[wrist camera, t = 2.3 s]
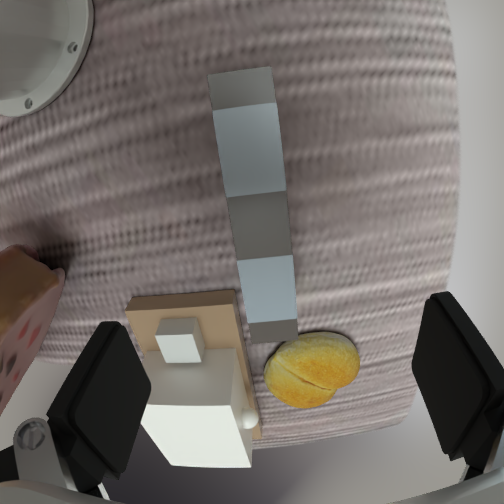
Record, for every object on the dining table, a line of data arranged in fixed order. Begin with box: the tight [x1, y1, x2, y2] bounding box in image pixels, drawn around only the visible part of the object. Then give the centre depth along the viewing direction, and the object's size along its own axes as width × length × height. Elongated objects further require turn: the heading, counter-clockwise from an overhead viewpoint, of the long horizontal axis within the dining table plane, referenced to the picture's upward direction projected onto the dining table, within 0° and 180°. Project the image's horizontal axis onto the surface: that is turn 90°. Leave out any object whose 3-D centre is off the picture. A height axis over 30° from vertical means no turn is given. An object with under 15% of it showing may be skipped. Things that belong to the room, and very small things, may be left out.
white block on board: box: [125, 289, 262, 468], centre depth 27 cm, size 20×10×8 cm, turn 8°
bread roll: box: [264, 332, 360, 408], centre depth 28 cm, size 8×9×4 cm
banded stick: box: [207, 66, 298, 344], centre depth 19 cm, size 16×3×6 cm, turn 8°
